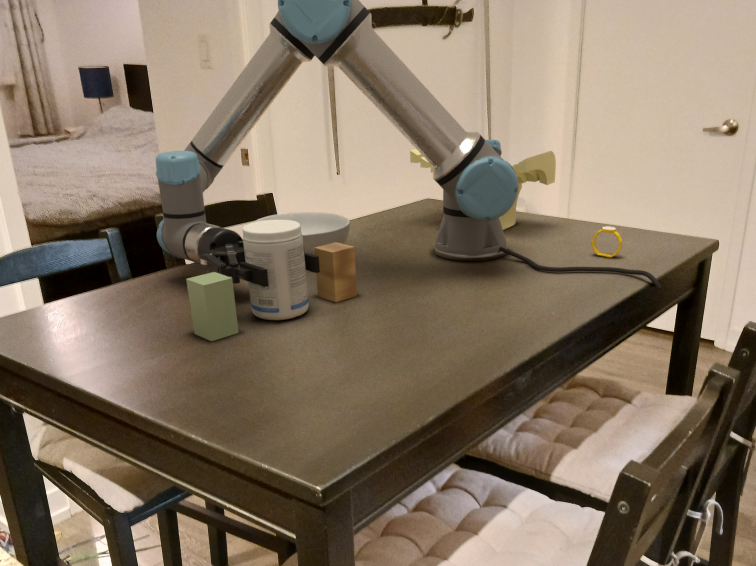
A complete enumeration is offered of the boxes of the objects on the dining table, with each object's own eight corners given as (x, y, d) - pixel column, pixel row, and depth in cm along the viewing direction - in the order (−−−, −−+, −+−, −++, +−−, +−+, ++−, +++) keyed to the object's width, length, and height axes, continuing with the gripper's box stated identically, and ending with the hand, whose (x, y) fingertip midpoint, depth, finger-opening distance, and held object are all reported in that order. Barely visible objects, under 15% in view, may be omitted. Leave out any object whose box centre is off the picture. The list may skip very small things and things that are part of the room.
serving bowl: (234, 262, 158) (230, 229, 155) (285, 239, 176) (282, 209, 173) (323, 271, 151) (320, 237, 148) (367, 246, 169) (366, 214, 166)
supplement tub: (299, 300, 134) (292, 216, 128) (317, 316, 126) (310, 227, 120) (244, 308, 130) (235, 222, 124) (259, 325, 122) (250, 234, 116)
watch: (589, 256, 158) (591, 227, 155) (593, 253, 160) (596, 224, 157) (617, 259, 155) (620, 230, 152) (622, 256, 157) (624, 227, 154)
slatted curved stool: (552, 225, 183) (556, 149, 176) (523, 240, 171) (526, 158, 164) (445, 213, 198) (444, 142, 191) (411, 225, 186) (410, 150, 179)
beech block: (339, 290, 139) (336, 241, 136) (357, 296, 136) (354, 246, 132) (317, 296, 136) (314, 247, 132) (335, 302, 133) (332, 252, 129)
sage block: (221, 325, 123) (214, 271, 120) (238, 332, 120) (232, 277, 116) (194, 333, 120) (186, 278, 116) (211, 341, 117) (203, 285, 113)
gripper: (269, 256, 145) (346, 278, 131) (162, 281, 131) (235, 310, 116) (265, 216, 142) (343, 235, 128) (155, 238, 128) (230, 262, 113)
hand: (292, 271), depth 122 cm, fingers closed on supplement tub, 10 cm apart
